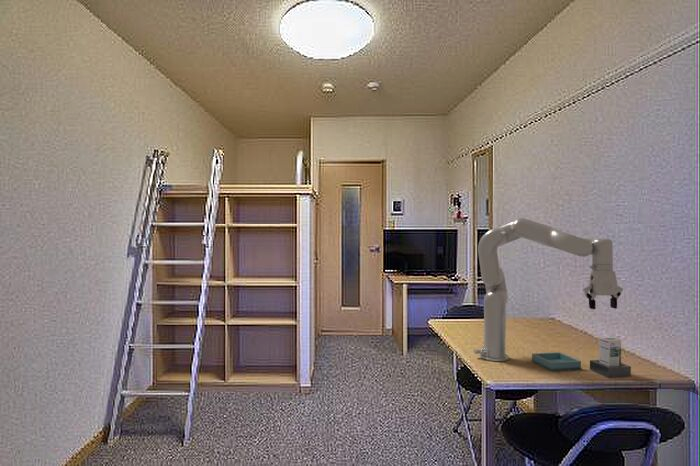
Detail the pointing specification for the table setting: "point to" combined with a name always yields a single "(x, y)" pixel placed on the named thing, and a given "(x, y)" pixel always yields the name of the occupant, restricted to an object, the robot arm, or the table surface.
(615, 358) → the syrup box
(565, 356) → the tray
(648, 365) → the table surface
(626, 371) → the holder
